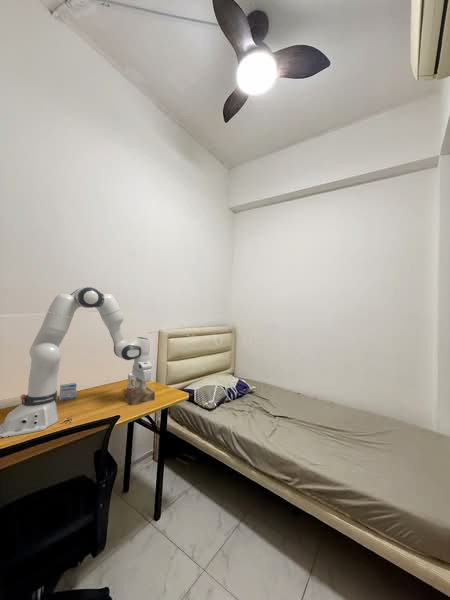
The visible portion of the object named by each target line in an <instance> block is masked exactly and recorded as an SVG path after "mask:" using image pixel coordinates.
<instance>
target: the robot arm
mask: <svg viewBox="0 0 450 600" xmlns="http://www.w3.org/2000/svg"><path fill="white" fill-rule="evenodd" d="M79 308H85V309H87V308H88V309H89V308H90V309H91V308H96V309H97V311H98V313H99V316H100V318H101V319H102V321H103V324H104V325H105V326H106V328H107V330H108V332H109V334H110V337H111V339H112V342H113V353H114V354H115V356H116V357H118V358H121V359H123V360H125V361H132V360H133V364H132V370H131V373H132V374H133V375H134V376H135V378H136V380H139V379H140V380H142V384H141V387H142V388H143V387H145V383H148V382H150V381H151V379H152V369H153V365H152V363H151V361H150V355H149V354H150V350H151V349H150V345H151V344H150V340H149V339H148V338H146V337H141V336H139V337H136V338H135V339H134V340H132V341H130V342H128V341H127V340H125V337H124V335H123V332H122V330H121V324H123V321H124V316H123V315H124V314H123V312H122V309H121V307H120V304H119V303H118V301H117V299H116V298H115V297H114V295H113V294H111V293H102V292H100V291H99V290H98V289H96V288H94V287H91V286H90V287H88V286H85V287H81V288H78V289H75V290H74V291H73V292H72V293H70V294H67V293H60V294H57V295H56V296H55V297H54V299H53V300H52V302H51V303H50V306H49V307H48V310H47V312H46V314H45V316H44V319H43V322H42V324H41V326H40V328H39V331H38V332H37V334H36V336H35V338H34V340H33V342H32V344H31V346H30V348H29V353H28V354H29V356H30V360H31V362H30V372H29V376H28V387H27V394H21V395H20V400H21V404H20V405H18V406H17V407H16V408H14V409H12V410H11V411H9V413H8V414H7V415H6V417H5V419H4V421H3V422H2V423H1V424H0V438H1V437H4V438H8V436H9V437H14V436H18V435H19V436H20V435H25V434H29V433H35V432H40V431H41V432H42V431H44V430H46V429H48V428H49V427H50V426H52V425H54V424H55V423H57V422H58V421H59V416H58V409H57V402H58V390H57V389H58V387H57V386H58V373H59V369H60V364H61V357H62V351H61V349H60V345H61V344H62V341H63V340H64V338H65V336H66V334H68V331H69V328H70V325H71V323H72V321H73V318H74V315H75V313H76V311H77V309H79Z"/></svg>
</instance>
